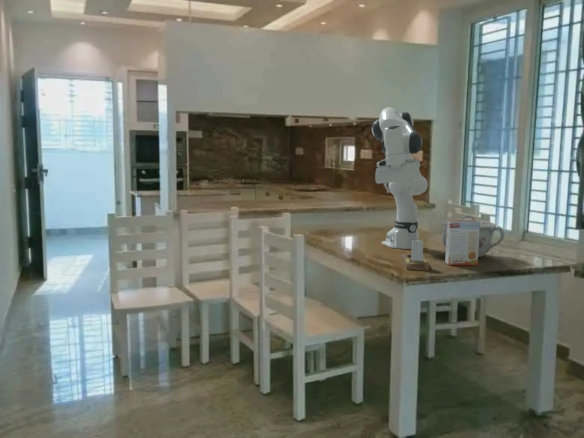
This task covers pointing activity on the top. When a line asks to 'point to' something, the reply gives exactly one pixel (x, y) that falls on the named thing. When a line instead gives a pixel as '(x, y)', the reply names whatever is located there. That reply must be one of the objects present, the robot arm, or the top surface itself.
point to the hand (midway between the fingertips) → (399, 191)
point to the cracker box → (462, 242)
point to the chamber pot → (484, 234)
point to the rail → (414, 263)
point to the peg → (417, 251)
